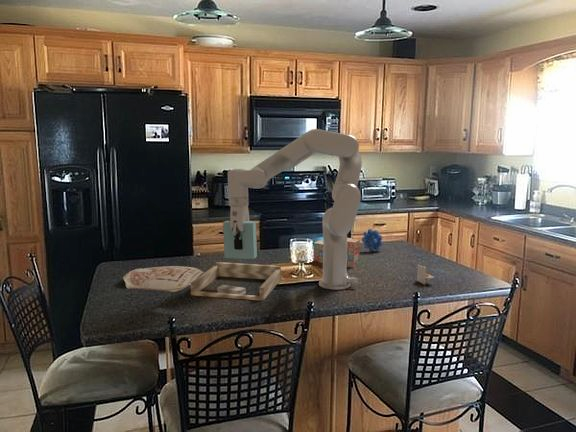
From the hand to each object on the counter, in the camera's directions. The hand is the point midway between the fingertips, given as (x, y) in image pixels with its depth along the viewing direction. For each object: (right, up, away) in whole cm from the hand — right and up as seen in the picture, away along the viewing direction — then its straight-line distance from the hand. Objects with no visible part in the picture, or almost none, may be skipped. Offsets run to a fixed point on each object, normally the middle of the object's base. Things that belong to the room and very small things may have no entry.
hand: (240, 247), depth 190 cm
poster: (-33, -15, +14) cm, 39 cm away
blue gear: (+62, -7, +62) cm, 88 cm away
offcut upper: (-3, -17, -7) cm, 18 cm away
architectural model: (+74, -16, +11) cm, 76 cm away
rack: (-1, -17, +1) cm, 17 cm away
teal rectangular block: (0, -4, +1) cm, 4 cm away
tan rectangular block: (+41, -10, +40) cm, 58 cm away
